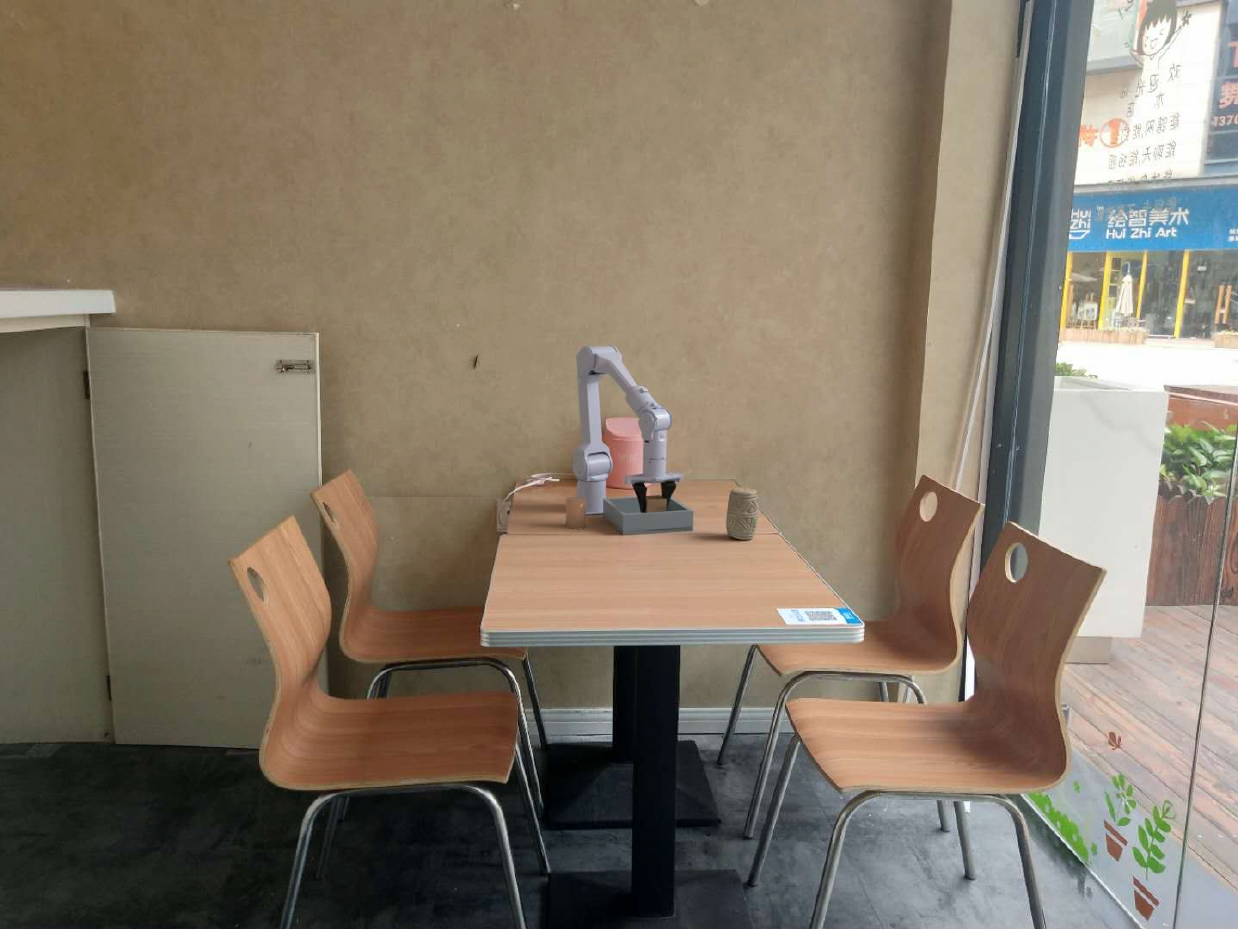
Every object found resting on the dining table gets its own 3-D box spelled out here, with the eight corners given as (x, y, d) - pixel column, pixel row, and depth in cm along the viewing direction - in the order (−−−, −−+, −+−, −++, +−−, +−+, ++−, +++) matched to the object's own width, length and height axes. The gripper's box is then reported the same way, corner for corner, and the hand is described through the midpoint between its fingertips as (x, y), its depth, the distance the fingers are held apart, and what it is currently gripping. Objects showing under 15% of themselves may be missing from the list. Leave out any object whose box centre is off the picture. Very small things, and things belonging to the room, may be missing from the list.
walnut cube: (640, 515, 225) (641, 496, 224) (659, 514, 227) (660, 495, 226) (647, 520, 221) (647, 500, 220) (666, 519, 222) (666, 499, 221)
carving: (758, 541, 214) (760, 492, 212) (726, 541, 214) (728, 491, 212) (755, 534, 220) (757, 486, 218) (724, 534, 220) (726, 486, 218)
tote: (602, 517, 235) (603, 498, 234) (668, 513, 240) (668, 494, 239) (623, 535, 218) (623, 515, 217) (692, 530, 223) (693, 510, 222)
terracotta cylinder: (563, 524, 227) (563, 497, 226) (583, 523, 229) (583, 496, 227) (568, 529, 223) (568, 502, 221) (588, 528, 224) (588, 500, 223)
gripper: (631, 461, 215) (630, 517, 218) (688, 459, 219) (686, 513, 222) (622, 456, 222) (621, 510, 224) (678, 454, 226) (676, 507, 228)
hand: (653, 511), depth 223 cm, fingers closed on walnut cube, 5 cm apart
